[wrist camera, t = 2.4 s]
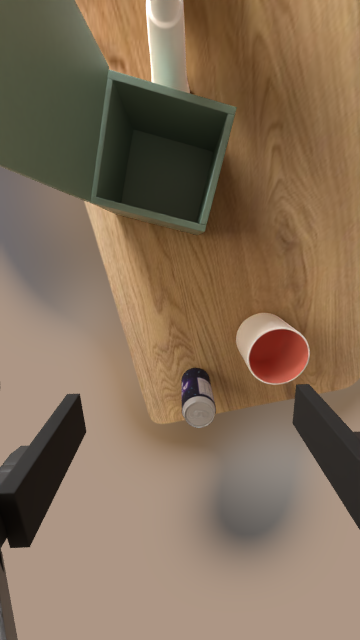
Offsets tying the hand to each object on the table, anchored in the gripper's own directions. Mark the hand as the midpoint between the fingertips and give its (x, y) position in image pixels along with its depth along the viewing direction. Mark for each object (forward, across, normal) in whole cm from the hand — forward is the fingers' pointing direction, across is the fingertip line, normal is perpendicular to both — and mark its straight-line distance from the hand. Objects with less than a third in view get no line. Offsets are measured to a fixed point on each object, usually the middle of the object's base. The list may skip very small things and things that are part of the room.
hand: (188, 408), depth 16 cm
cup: (+35, +15, -8) cm, 39 cm away
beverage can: (+35, +2, -17) cm, 39 cm away
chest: (+35, -2, +19) cm, 40 cm away
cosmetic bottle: (+35, 0, +32) cm, 47 cm away
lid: (+13, -9, +22) cm, 27 cm away
